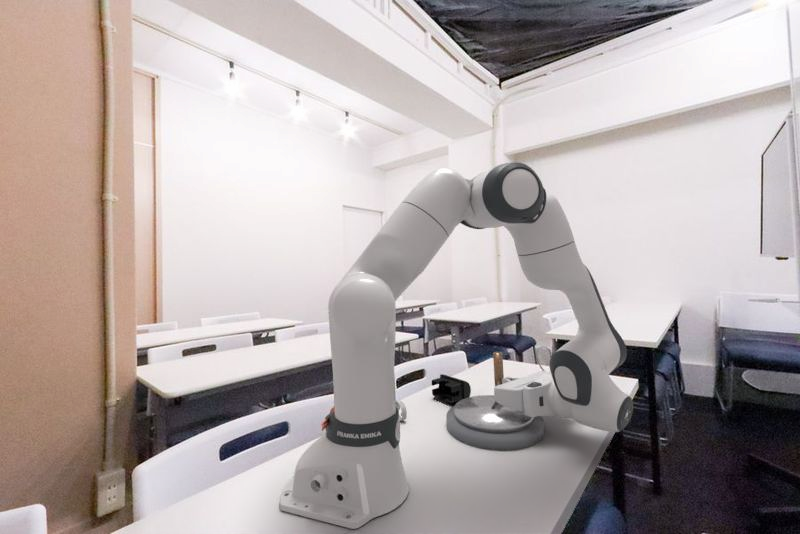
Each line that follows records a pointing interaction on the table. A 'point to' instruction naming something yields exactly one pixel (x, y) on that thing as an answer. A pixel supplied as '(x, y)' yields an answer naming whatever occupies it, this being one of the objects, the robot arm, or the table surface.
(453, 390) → the end cap
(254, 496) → the table surface
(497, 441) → the base
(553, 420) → the table surface
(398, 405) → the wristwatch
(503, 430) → the dial
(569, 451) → the table surface
